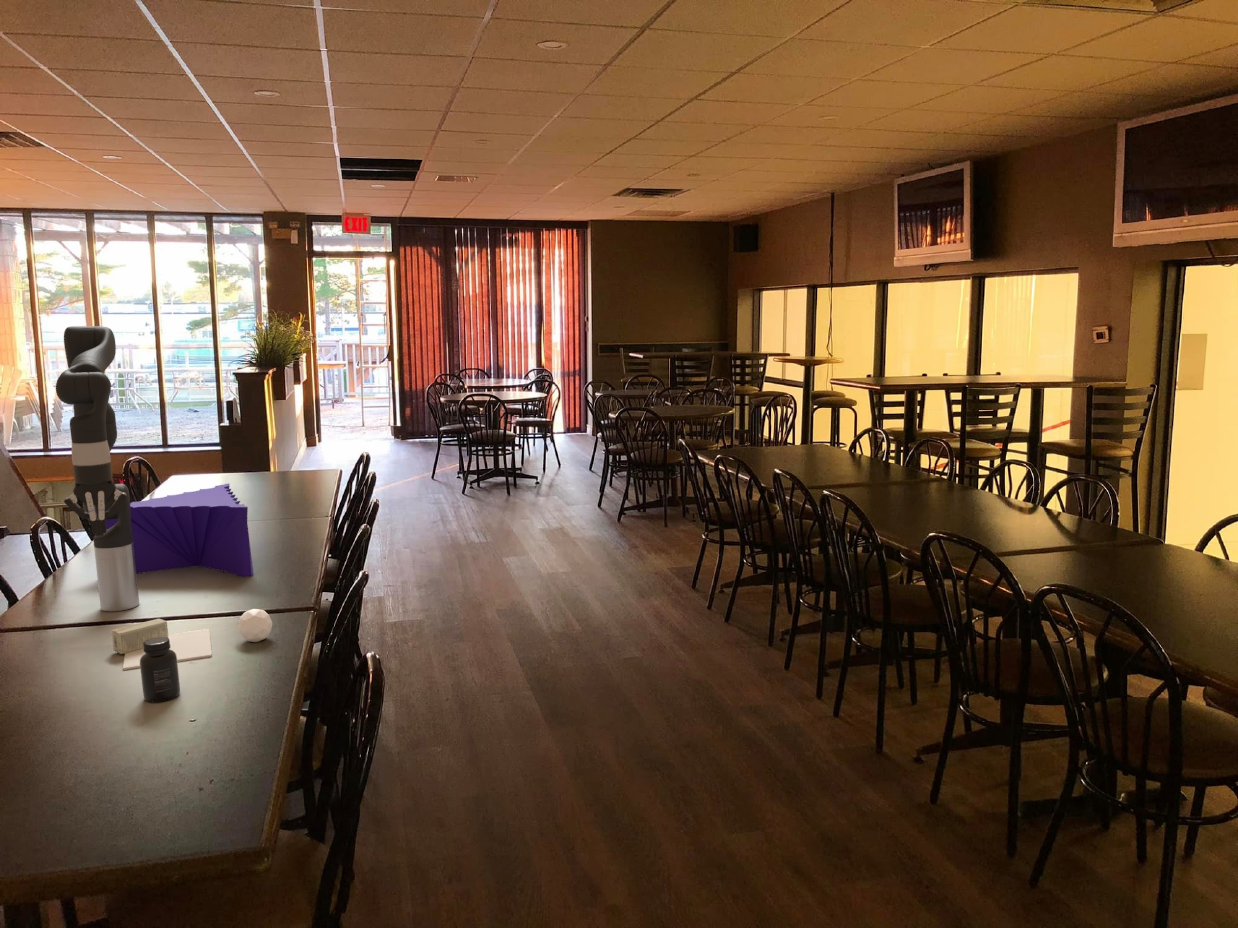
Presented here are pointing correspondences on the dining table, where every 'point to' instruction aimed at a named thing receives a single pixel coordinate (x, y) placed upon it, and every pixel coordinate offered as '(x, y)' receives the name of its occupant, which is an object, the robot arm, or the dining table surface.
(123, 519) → the robot arm
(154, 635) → the box
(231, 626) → the dining table surface
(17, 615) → the dining table surface
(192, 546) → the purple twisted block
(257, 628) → the geometric ball
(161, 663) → the supplement bottle
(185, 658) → the mat
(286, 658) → the dining table surface
